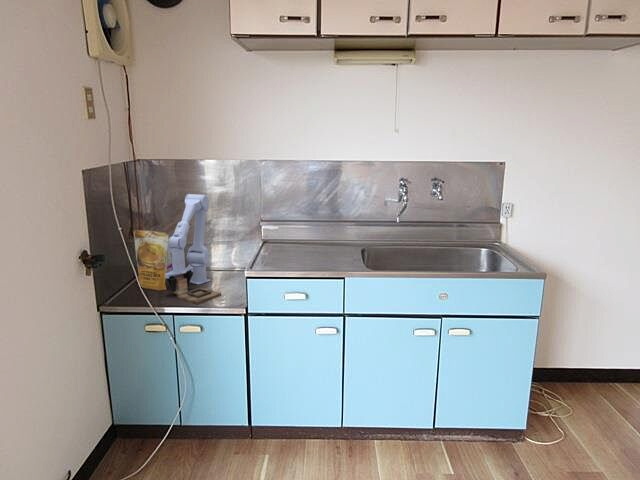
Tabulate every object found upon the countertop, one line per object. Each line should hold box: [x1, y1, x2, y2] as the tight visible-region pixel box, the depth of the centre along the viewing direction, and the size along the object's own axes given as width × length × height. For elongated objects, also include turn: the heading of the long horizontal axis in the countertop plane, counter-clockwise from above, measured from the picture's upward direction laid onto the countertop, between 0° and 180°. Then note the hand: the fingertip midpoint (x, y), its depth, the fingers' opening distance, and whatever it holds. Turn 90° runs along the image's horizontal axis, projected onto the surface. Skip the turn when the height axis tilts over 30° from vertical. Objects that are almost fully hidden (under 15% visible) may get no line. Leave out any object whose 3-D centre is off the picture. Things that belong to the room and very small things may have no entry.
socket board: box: [176, 286, 222, 305], centre depth 219 cm, size 14×14×2 cm
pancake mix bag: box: [132, 229, 170, 291], centre depth 228 cm, size 7×19×28 cm, turn 69°
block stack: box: [173, 276, 189, 296], centre depth 223 cm, size 4×4×7 cm
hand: (180, 289), depth 224 cm, fingers open, 7 cm apart
